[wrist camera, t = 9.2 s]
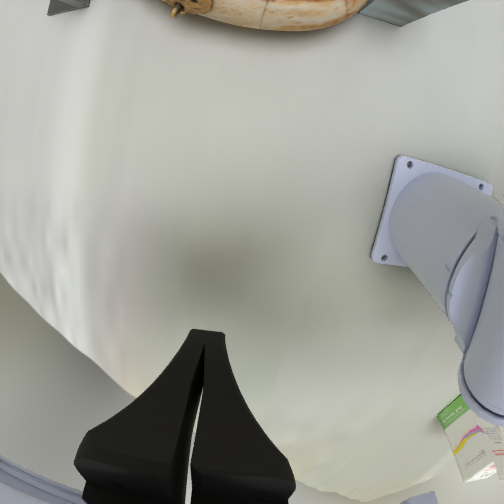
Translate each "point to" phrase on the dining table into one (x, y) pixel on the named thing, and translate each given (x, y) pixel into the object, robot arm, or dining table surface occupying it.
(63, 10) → the bookend
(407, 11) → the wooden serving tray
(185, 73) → the dining table surface
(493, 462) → the ink box
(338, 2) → the trinket box
